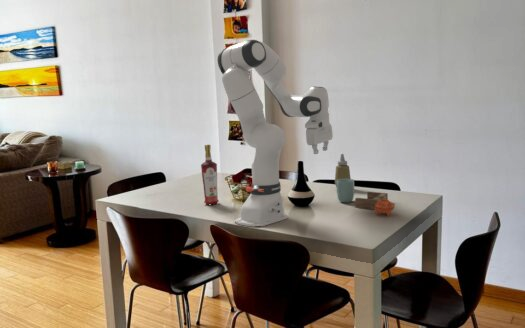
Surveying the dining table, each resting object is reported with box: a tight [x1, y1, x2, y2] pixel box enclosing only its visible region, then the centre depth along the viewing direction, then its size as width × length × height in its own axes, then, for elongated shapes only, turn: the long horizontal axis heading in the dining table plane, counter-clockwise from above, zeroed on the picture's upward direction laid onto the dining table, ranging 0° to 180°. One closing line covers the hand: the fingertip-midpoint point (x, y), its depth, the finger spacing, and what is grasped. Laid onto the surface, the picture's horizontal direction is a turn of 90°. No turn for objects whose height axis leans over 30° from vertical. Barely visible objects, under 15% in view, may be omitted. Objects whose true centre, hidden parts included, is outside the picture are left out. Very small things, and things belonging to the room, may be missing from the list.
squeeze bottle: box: [334, 153, 352, 189], centre depth 247 cm, size 8×8×18 cm
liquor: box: [200, 144, 220, 205], centre depth 229 cm, size 7×7×28 cm
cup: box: [336, 178, 355, 204], centre depth 223 cm, size 8×8×10 cm
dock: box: [354, 191, 389, 210], centre depth 216 cm, size 14×9×4 cm, turn 145°
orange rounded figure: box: [374, 199, 395, 217], centre depth 200 cm, size 8×8×7 cm
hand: (320, 152), depth 228 cm, fingers open, 8 cm apart
